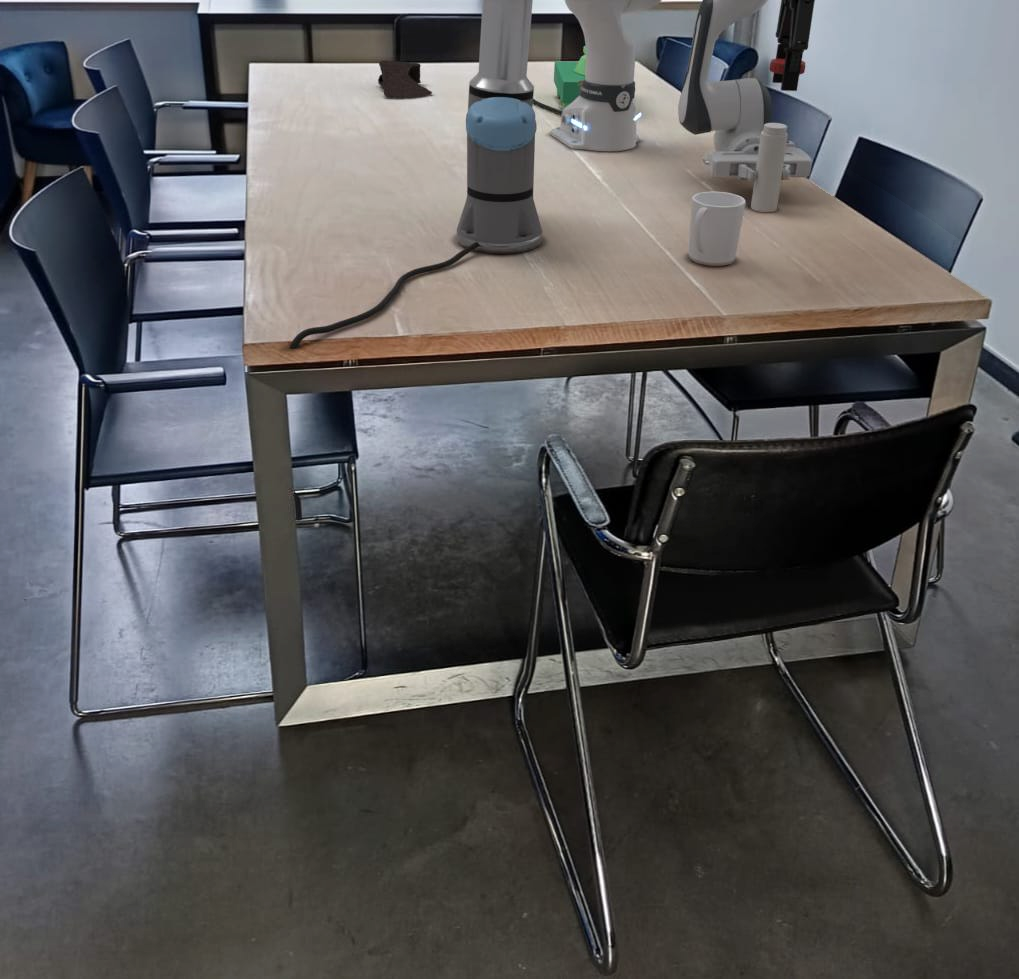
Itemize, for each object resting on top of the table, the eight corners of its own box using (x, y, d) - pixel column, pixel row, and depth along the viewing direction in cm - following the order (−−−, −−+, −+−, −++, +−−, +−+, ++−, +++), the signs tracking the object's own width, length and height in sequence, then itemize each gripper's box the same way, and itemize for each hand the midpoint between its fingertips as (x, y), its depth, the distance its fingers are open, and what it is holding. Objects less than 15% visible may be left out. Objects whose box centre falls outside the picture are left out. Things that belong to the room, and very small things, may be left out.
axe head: (443, 87, 294) (392, 77, 287) (436, 115, 299) (385, 106, 292) (421, 62, 307) (371, 52, 300) (414, 89, 311) (365, 80, 304)
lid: (776, 66, 199) (777, 57, 198) (808, 71, 196) (810, 61, 195) (764, 71, 194) (765, 61, 194) (797, 76, 192) (799, 66, 191)
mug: (702, 245, 195) (709, 188, 190) (747, 257, 190) (755, 198, 185) (669, 261, 188) (675, 202, 182) (714, 274, 183) (722, 213, 177)
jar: (774, 213, 213) (787, 129, 204) (748, 210, 214) (760, 127, 206) (778, 206, 217) (790, 123, 208) (753, 203, 218) (764, 121, 210)
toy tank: (616, 42, 301) (635, 67, 272) (613, 89, 308) (630, 118, 278) (553, 41, 300) (564, 66, 271) (550, 88, 307) (561, 117, 277)
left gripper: (844, -51, 176) (818, 98, 189) (814, -62, 193) (792, 76, 205) (798, -52, 176) (775, 97, 188) (771, -63, 192) (752, 75, 205)
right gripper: (701, 141, 220) (719, 159, 209) (800, 141, 222) (823, 159, 210) (698, 172, 224) (715, 192, 212) (795, 172, 225) (817, 191, 214)
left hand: (784, 86), depth 197 cm, fingers closed on lid, 6 cm apart
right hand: (770, 175), depth 211 cm, fingers closed on jar, 5 cm apart
